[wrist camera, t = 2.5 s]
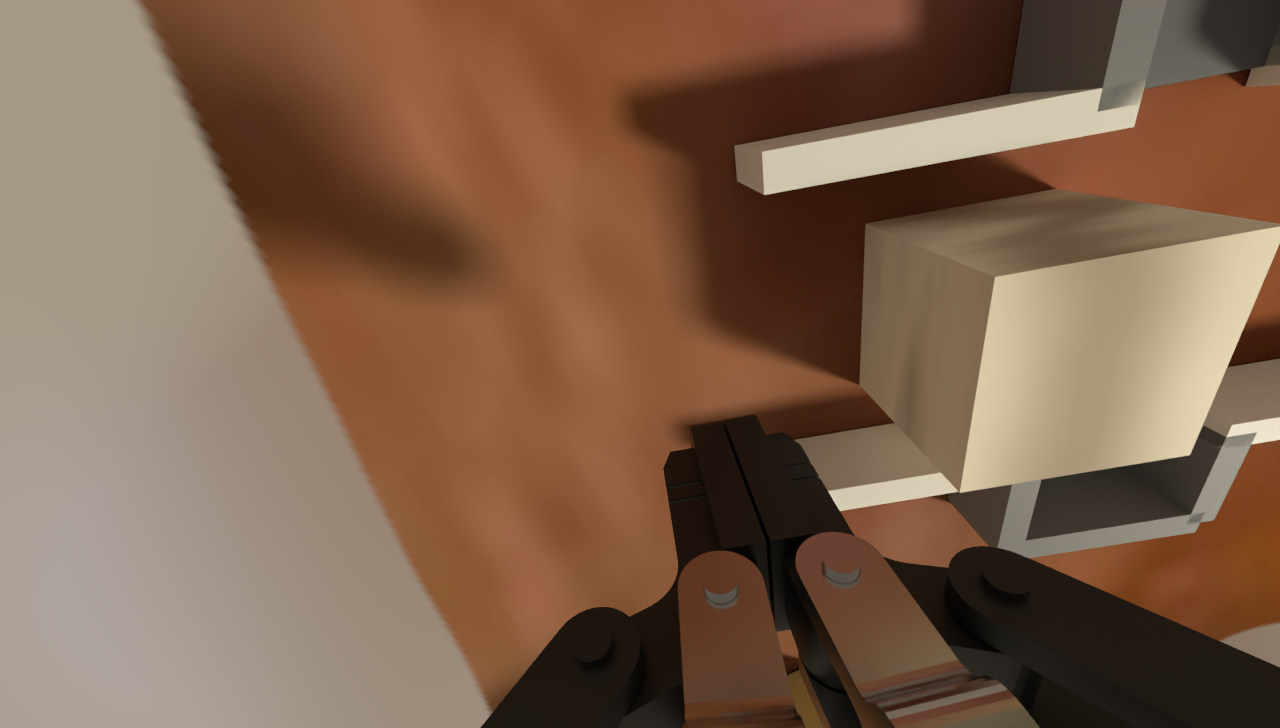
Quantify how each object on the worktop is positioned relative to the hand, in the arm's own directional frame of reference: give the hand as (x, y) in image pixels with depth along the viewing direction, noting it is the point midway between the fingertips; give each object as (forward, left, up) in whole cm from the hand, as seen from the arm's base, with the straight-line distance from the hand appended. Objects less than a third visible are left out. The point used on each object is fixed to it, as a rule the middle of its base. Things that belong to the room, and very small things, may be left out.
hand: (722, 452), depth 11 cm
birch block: (-9, 0, -7) cm, 11 cm away
